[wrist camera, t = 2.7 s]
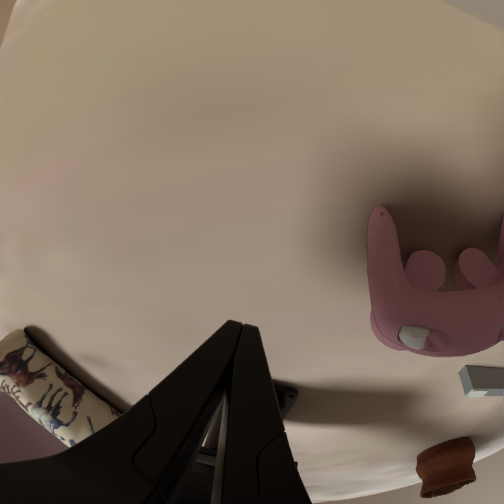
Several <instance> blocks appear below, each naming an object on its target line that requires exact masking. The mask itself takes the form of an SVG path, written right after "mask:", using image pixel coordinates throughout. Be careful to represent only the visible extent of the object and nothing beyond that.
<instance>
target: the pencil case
mask: <svg viewBox="0 0 504 504" xmlns="http://www.w3.org/2000/svg"><path fill="white" fill-rule="evenodd" d="M0 390H1V391H2V392H4V393H5V394H6V395H8V396H9V397H11V398H12V399H14V400H15V402H17V404H18V405H19V406H21V407H22V408H23V409H24V410H25V411H26V412H27V413H28V414H29V415H30V416H31V417H32V418H33V419H35V420H36V421H37V422H38V423H40V424H41V425H42V426H44V427H45V428H46V429H47V430H49V431H50V432H51V433H52V434H54V435H55V436H56V437H57V438H58V439H60V440H61V441H62V442H63V443H64V444H66V445H67V446H68V447H72V446H73V445H75V444H77V443H78V442H80V441H82V440H83V439H85V438H87V437H88V436H90V435H92V434H93V433H95V432H96V431H98V430H100V429H101V428H103V427H104V426H106V425H108V424H109V423H110V422H112V421H113V420H115V419H116V418H118V417H119V416H121V415H122V414H121V413H119V412H118V411H117V410H116V409H114V408H113V407H111V406H110V405H108V404H107V403H106V402H104V401H103V400H101V399H100V398H98V397H97V396H96V395H95V394H93V393H92V392H91V391H89V390H88V389H87V388H86V387H84V386H83V385H82V384H81V383H80V382H78V381H77V380H76V379H75V378H74V377H73V376H71V375H70V374H68V373H67V372H66V371H65V370H64V369H63V368H62V367H61V366H59V365H58V364H57V363H56V362H54V361H53V360H52V359H51V358H49V357H48V356H47V355H46V354H45V353H43V352H42V351H41V350H40V349H39V348H38V347H37V346H35V345H34V343H33V342H32V340H31V339H30V338H29V337H28V335H27V334H26V333H25V332H24V331H23V330H22V329H19V330H16V331H14V332H12V333H10V334H8V335H7V336H6V337H5V338H4V339H3V340H1V341H0Z"/></svg>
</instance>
